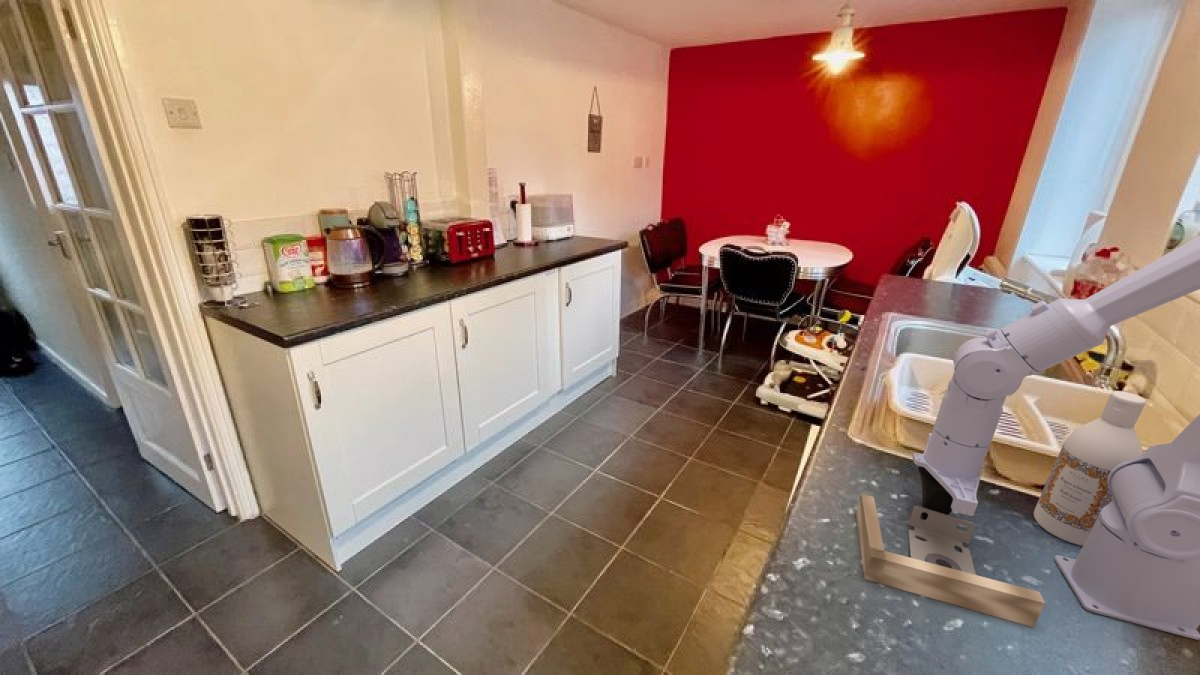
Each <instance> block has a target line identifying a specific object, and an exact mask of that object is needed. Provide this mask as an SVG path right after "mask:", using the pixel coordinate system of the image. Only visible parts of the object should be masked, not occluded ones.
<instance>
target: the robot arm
mask: <svg viewBox="0 0 1200 675" xmlns="http://www.w3.org/2000/svg"><path fill="white" fill-rule="evenodd" d="M1199 290H1200V235H1199V236H1197V237H1194V238H1193V239H1191V240H1190V241H1188V242H1186V243H1184V244H1182V245H1181V246H1178V247H1177V248H1175V249H1173V250H1172V251H1169V252H1168V253H1166V254H1164V255H1162V256H1160V257H1159V258H1157V259H1155V260H1153V261H1152V262H1150V263H1148V264H1146V265H1145V266H1143V267H1141V268H1139V269H1137V270H1135V271H1134V272H1131V273H1130V274H1128V275H1126V276H1124V277H1122V278H1121V279H1118V280H1117V281H1116V282H1114V283H1112V284H1109V285H1108V286H1107V287H1104V288H1103V289H1101V290H1100V291H1097V292H1095V293H1093V294H1092V295H1089V297H1087V298H1084V299H1077V298H1076V299H1074V298H1057V299H1056V300H1054V301H1052V302H1050V303H1047V302H1046V301H1045V300H1040V301H1038V302H1037V303H1035V304H1033V305H1031V306H1030V309H1031V312H1030V313H1028V314H1027V315H1025V316H1023V317H1021V318H1019V319H1017V320H1014V321H1013V322H1011V323H1010V324H1007V325H1005V326H1003V327H1002V328H999V329H998V330H996V329H995V328H990V329H989V330H987V331H985V332H984V337H982V338H981V337H975V338H971V339H968V340H967V341H965V342H964V343H962V344H961V345H960V346H959V347H958V350H957V351H954V352H953V355H952V360H953V365H954V368H953V370H954V372H953V374H952V377H951V379H950V380H949V382H948V384H947V390H946V391H945V393H944V395H943V397H942V400H941V404H940V407H939V409H938V412H937V416H936V418H935V422H934V426H933V428H932V432H929V433H928V435H927V439H926V441H925V442H926V443H925V445H926V447H925V449H924V451H923V453H919V452H918V453H917V452H914V453H913V456H912V461H913V464H915V466H918V467H917V470H918V473H919V477H920V480H921V494H922V495H921V497H922V498H921V507H923V508H927V509H930V510H933V511H937V512H940V513H943V514H946V515H950V514H951V513H952V512H954V513H957V514H962V515H964V516H965V515H966V516H970V517H973V516H974V515H975V512H976V510H977V507H978V505H979V502H978V499H977V492H978V488H979V484H980V480H981V475H982V472H981V469H982V467H983V464H984V462H985V460H986V457H987V454H988V452H989V449H990V446H991V444H992V441H993V439H994V436H995V433H996V430H997V428H998V425H999V422H1000V420H1001V417H1002V415H1003V412H1004V407H1003V406H1004V404H1005V402H1006V399H1007V396H1009V397H1010V396H1012V395H1014V394H1015V393H1016V392H1017V391H1018V390H1019V389H1020V387H1021V386H1022V383H1023V380H1024V379H1025V378H1026V377H1028V376H1033V375H1036V374H1039V373H1040V372H1042V371H1045V370H1047V369H1050V368H1052V367H1054V366H1057V365H1059V364H1060V363H1063V362H1066V361H1067V360H1070V359H1071V358H1075V357H1077V356H1078V355H1081V354H1083V353H1085V352H1088V351H1090V350H1092V349H1094V348H1096V347H1099V346H1101V345H1103V343H1104V341H1105V338H1106V336H1107V334H1108V331H1109V329H1110V328H1111V327H1112V326H1114V325H1116V324H1119V323H1121V322H1124V321H1126V320H1128V319H1131V318H1133V317H1136V316H1138V315H1141V314H1143V313H1145V312H1148V311H1150V310H1153V309H1155V308H1157V307H1160V306H1162V305H1165V304H1168V303H1169V302H1172V301H1175V300H1176V299H1180V298H1182V297H1185V296H1186V295H1189V294H1191V293H1194V292H1196V291H1199ZM1107 483H1108V487H1109V489H1110V491H1111V493H1112V494H1113V495H1114V497H1113V499H1112V501H1111V502H1110V503H1109V504H1108V505H1106V506H1105V507H1104V508H1103V509H1102V510H1101V511H1100V514H1099V515H1098V517H1097V519H1096V521H1095V523H1094V525H1093V527H1092V529H1091V531H1090V533H1089V535H1088V537H1087V539H1086V541H1085V543H1084V545H1082V547H1081V549H1080V551H1079V553H1078V556H1077V557H1076V559H1075V558H1070V557H1068V556H1062V555H1058V554H1057V555H1054V558H1053V559H1054V561H1055V562H1056V564H1057V566H1058V568H1059V569H1060V571H1061V573H1062V574H1063V576H1064V577H1065V579H1066V580H1067V582H1068V584H1069V586H1070V588H1071V589H1072V590H1073V592H1074V594H1075V595H1076V597H1077V599H1078V601H1079V602H1080V603H1081V606H1082V607H1083V608H1084V609H1085V610H1086V611H1088V612H1092V613H1094V614H1095V613H1096V614H1099V615H1103V616H1107V617H1111V618H1115V619H1118V620H1121V621H1126V622H1129V623H1133V624H1136V625H1140V626H1143V627H1148V628H1152V629H1155V630H1159V631H1162V632H1167V633H1171V634H1173V635H1177V636H1182V637H1185V638H1188V639H1189V638H1190V639H1192V640H1197V641H1198V640H1200V632H1199V631H1198V630H1197V629H1198V628H1199V626H1200V413H1199V414H1198V415H1197V416H1196V417H1195V418H1194V419H1193V420H1192V421H1191V422H1190V423H1189V424H1188V425H1187V426H1186V427H1185V428H1184V429H1183V430H1182V431H1181V432H1180V433H1179V434H1178V435H1176V437H1175V438H1174V439H1173V440H1172V441H1171V442H1168V443H1163V444H1162V443H1161V444H1155V445H1151V446H1149V447H1147V449H1146V450H1145V451H1143V454H1142V455H1140V456H1139V457H1137V458H1135V459H1132V460H1129V461H1126V462H1123V463H1121V464H1119V465H1117V466H1116V467H1114V468H1113V469H1112V470H1111V472H1110V473H1109V475H1108V479H1107ZM920 516H921V519H922V520H926V519H927V517H928V514H927V513H926V512H922V513H921V515H920Z"/></svg>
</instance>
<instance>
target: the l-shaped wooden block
mask: <svg viewBox="0 0 1200 675" xmlns="http://www.w3.org/2000/svg"><path fill="white" fill-rule="evenodd" d="M855 517H856V518H855V519H856V520H855V521H856V525H857V533H858V542H859V548H860V554H861V562H862V563H861V564H862V569H863V577H864V580H867V581H869V582H874V583H877V584H881V585H884V586H888V587H891V588H895V589H898V590H901V591H905V592H908V593H912V594H916V595H920V596H922V597H927V598H929V599H932V600H935V601H936V600H937V601H939V602H944V603H947V604H950V605H954V606H957V607H960V608H965V609H967V610H971V611H974V612H978V613H982V614H985V615H988V616H993V617H995V618H1000V619H1003V620H1006V621H1010V622H1013V623H1016V624H1021V625H1022V626H1023V625H1024V626H1028V627H1031V628H1035V625H1036V623H1037V621H1038V619H1039V618H1040V615H1041V612H1042V611H1043V610H1044V607H1045V606H1046V601H1045V600H1044V598H1043V597H1042V595H1041V593H1040V591H1038V590H1034V589H1029V588H1026V587H1023V586H1018V585H1016V584H1015V585H1014V584H1012V583H1011V584H1010V583H1008V582H1004V581H999V580H996V579H993V578H989V577H984V576H981V575H977V574H976V575H974V574H970V573H966V572H962V571H959V570H955V569H951V568H947V567H944V566H940V565H936V564H932V563H929V562H925V561H921V560H917V559H913V558H910V556H906V555H903V554H902V555H901V554H898V553H894V552H889V551H886V550H885V549H884V548H885V547H884V542H883V541H884V540H883V536H882V533H881V528H880V521H879V518H878V517H879V516H878V510H877V506H876V501H875V497H874V496H873V495H868V494H863V493H861V494H860V497H859V500H858V504H857V509H856V512H855Z"/></svg>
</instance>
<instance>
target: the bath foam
mask: <svg viewBox="0 0 1200 675" xmlns="http://www.w3.org/2000/svg"><path fill="white" fill-rule="evenodd" d="M1146 404H1147V400H1146V399H1145V398H1144V397H1143V396H1140V395H1138V394H1135V393H1131V392H1128V391H1124V390H1115V391H1112V392H1111V393H1110V395H1109V397H1108V399H1107V401H1106V403H1105V406H1104V407H1103V410H1102V413H1101V414H1100V416H1099V417H1098V418H1096V419H1093V420H1090V421H1089V422H1087V423H1085V424H1082V425H1081V426H1079V427H1077V428H1075V430H1073V431H1072V432H1071V433H1070V434H1069V435H1068V436H1067V438H1066V439H1065V440H1064V442H1063V443H1062V446H1061V449H1060V451H1059V453H1058V456H1057V458H1056V460H1055V461H1054V464H1053V466H1052V469H1051V471H1050V474H1049V476H1048V478H1047V481H1046V482H1045V484H1044V487H1043V489H1042V492H1041V494H1040V495H1039V496H1040V497H1039V499H1038V501H1037V503H1036V506H1035V507H1034V508H1035V509H1034V511H1033V517H1034V520H1035V521H1036V522H1037V524H1038V525H1039V526H1040V527H1042V528H1043V529H1044V530H1045V531H1046V532H1048V533H1049V534H1051V535H1052V536H1054V537H1057V538H1059V539H1061V540H1063V541H1065V542H1068V543H1070V544H1074V545H1078V546H1083V545H1084V543H1085V541H1086V539H1087V537H1088V535H1089V533H1090V531H1091V529H1092V527H1093V525H1094V523H1095V521H1096V519H1097V517H1098V515H1099V514H1100V511H1101V510H1102V509H1103V508H1104V507H1105V506H1106V505H1108V504H1109V503H1110V502H1111V501H1112V499H1113V497H1114V495H1113V494H1112V493H1111V491H1110V489H1109V487H1108V483H1107V479H1108V475H1109V473H1110V472H1111V470H1112V469H1113V468H1114V467H1116V466H1117V465H1119V464H1121V463H1123V462H1126V461H1129V460H1132V459H1135V458H1137V457H1139V456H1140V455H1142V454H1143V453H1144V451H1143V447H1142V446H1143V445H1142V444H1141V441H1140V439H1139V436H1138V434H1137V431H1136V430H1135V426H1136V423H1138V419H1139V418H1140V416H1141V414H1142V412H1143V410H1144V408H1145V406H1146Z"/></svg>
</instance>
